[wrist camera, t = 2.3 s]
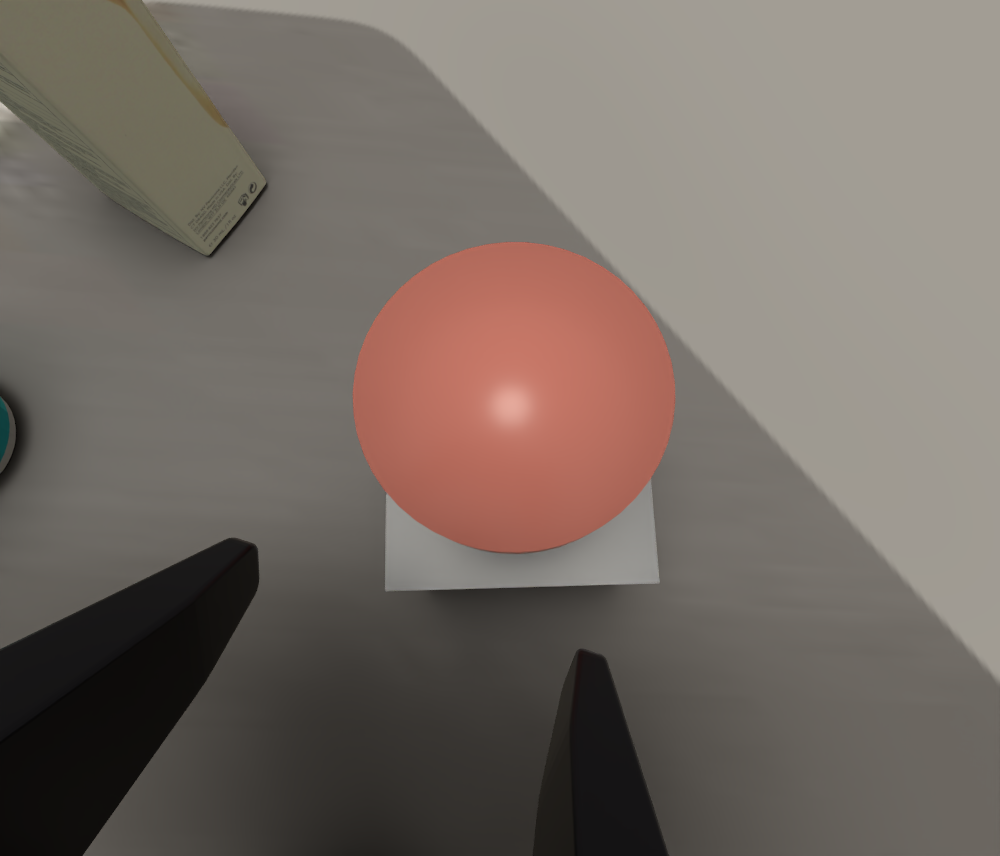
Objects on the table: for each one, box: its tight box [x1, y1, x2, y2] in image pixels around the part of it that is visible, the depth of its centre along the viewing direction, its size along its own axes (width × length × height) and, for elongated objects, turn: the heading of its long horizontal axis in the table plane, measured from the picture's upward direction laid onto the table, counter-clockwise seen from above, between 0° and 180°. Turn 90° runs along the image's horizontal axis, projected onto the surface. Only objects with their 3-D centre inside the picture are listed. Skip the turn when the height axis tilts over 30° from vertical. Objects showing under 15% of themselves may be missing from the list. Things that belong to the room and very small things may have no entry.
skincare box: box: [0, 0, 266, 256], centre depth 21 cm, size 6×4×12 cm
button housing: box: [385, 479, 660, 591], centre depth 20 cm, size 7×7×7 cm
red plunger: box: [353, 242, 675, 554], centre depth 15 cm, size 6×6×8 cm
